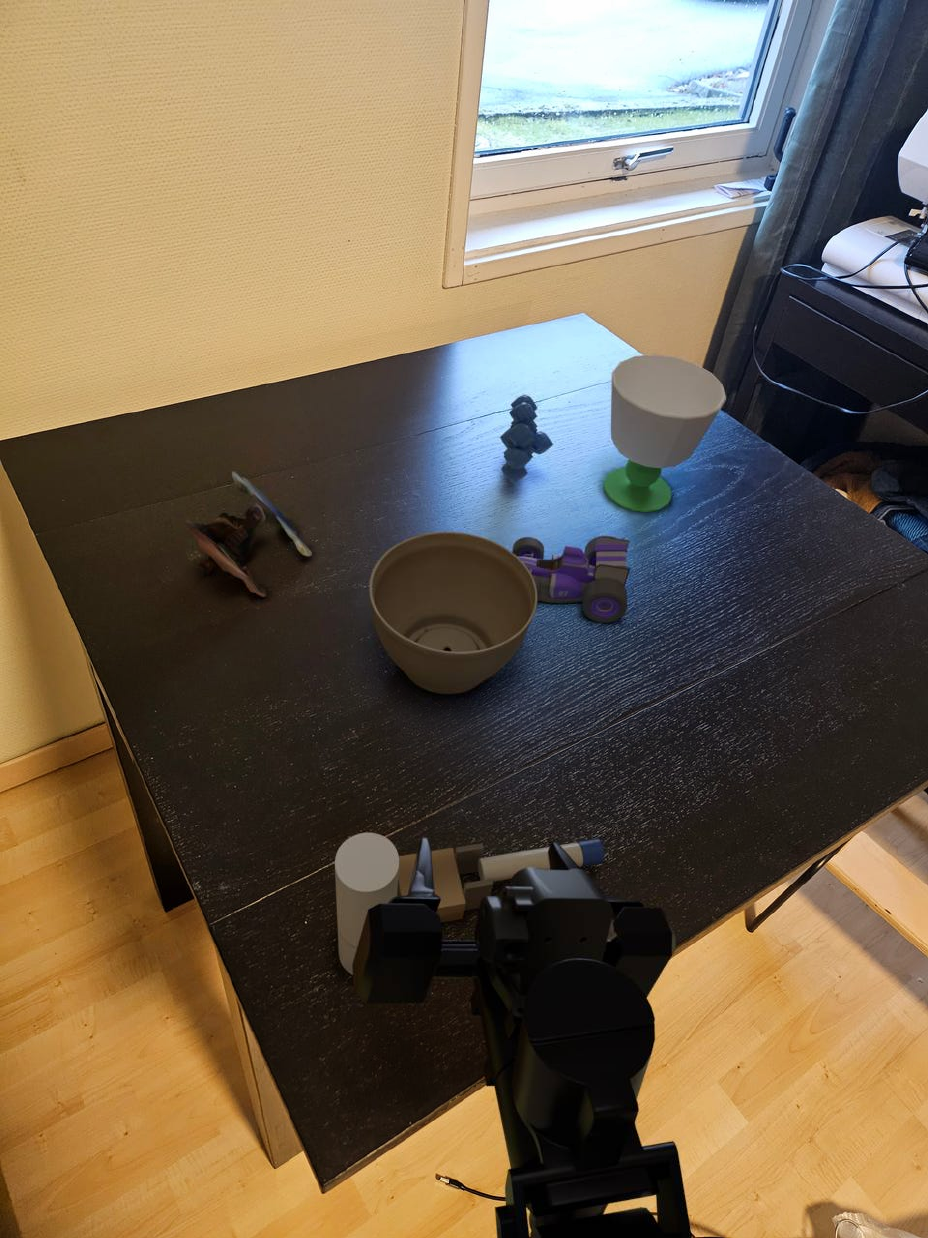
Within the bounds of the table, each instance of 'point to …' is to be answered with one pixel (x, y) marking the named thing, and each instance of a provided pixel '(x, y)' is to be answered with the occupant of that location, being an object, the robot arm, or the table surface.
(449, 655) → the planter bowl
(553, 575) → the toy race car
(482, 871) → the marker
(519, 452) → the grapes
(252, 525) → the figurine
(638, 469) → the cup
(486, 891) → the tan block with prongs
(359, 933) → the tube
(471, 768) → the table surface
